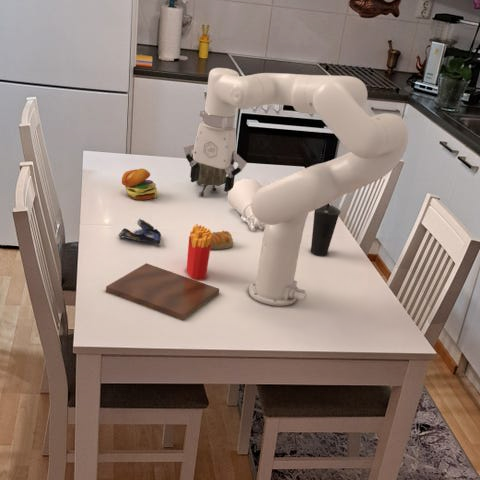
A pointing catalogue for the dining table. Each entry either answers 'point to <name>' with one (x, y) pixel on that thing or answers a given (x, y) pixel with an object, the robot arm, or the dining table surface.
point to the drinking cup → (323, 228)
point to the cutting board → (163, 291)
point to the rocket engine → (245, 200)
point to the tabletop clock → (210, 177)
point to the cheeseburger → (139, 184)
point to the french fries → (198, 252)
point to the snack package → (142, 233)
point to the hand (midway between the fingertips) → (211, 185)
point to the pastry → (221, 240)
